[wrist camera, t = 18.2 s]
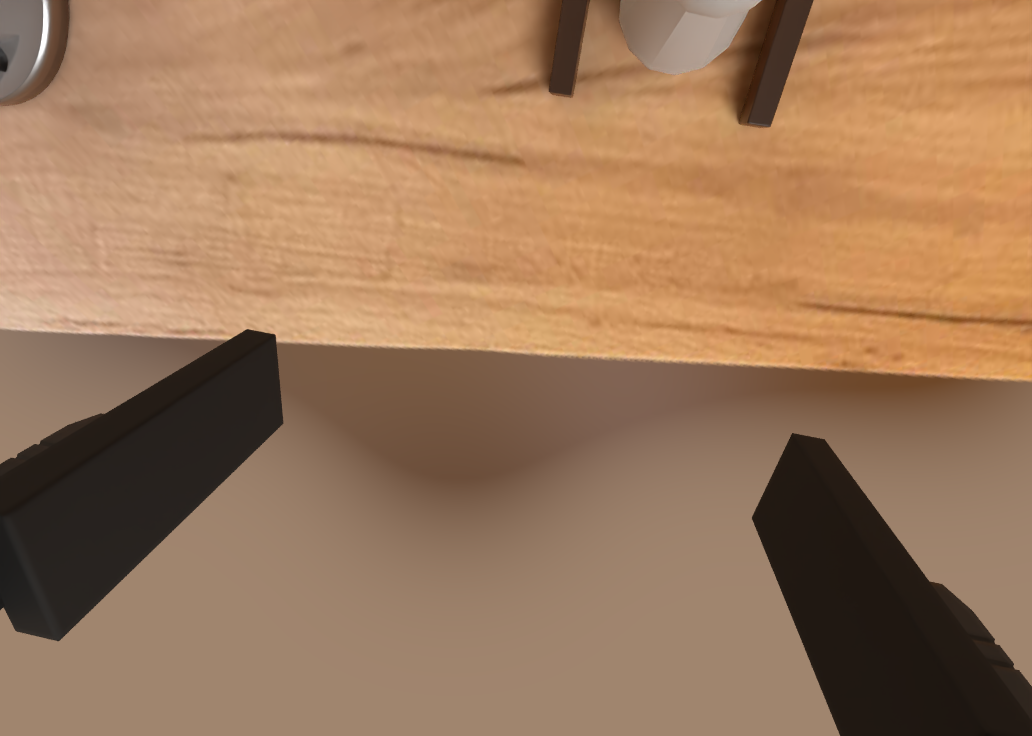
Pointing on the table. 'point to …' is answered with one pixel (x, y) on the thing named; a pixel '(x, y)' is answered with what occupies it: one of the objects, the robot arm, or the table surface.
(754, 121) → the walnut stop
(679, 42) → the salt shaker
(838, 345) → the table surface
